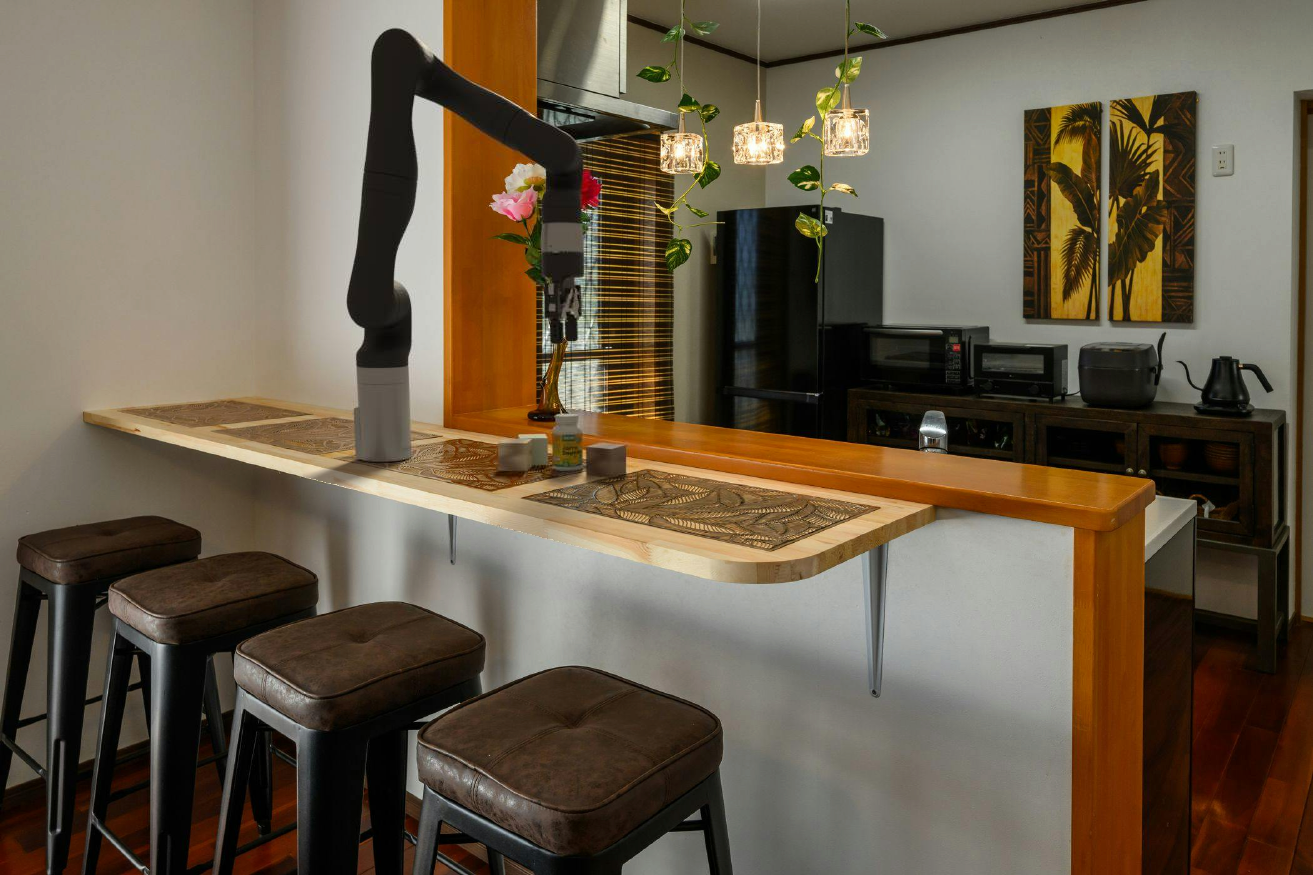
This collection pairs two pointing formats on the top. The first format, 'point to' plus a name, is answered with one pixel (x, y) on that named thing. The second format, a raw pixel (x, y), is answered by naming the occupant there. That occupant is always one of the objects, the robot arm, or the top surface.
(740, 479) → the top surface
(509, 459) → the oak block
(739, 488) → the top surface
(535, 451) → the sage block
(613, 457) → the walnut block
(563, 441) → the supplement bottle
